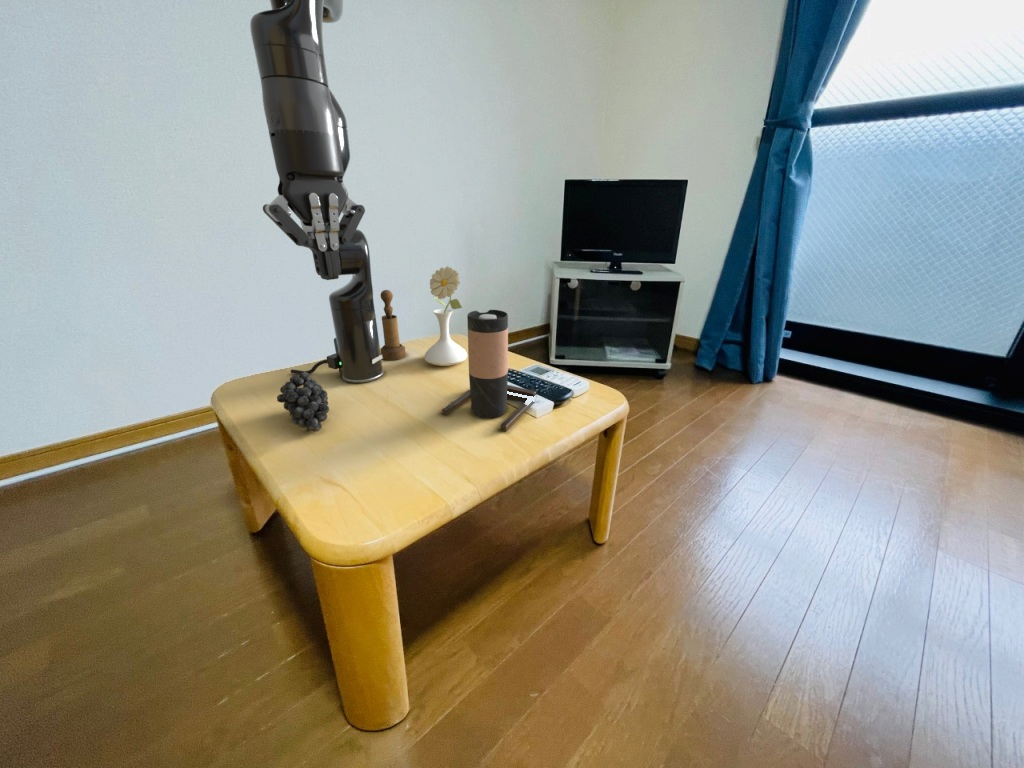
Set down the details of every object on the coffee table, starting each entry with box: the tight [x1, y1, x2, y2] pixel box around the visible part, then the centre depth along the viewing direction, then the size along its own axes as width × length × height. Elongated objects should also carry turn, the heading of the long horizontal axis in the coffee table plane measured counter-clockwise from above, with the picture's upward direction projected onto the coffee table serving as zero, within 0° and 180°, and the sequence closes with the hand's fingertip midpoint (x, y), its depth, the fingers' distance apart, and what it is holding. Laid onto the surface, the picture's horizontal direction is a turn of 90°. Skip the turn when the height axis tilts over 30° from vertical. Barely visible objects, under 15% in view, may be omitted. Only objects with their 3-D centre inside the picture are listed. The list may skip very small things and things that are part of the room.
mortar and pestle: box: [380, 289, 407, 361], centre depth 104 cm, size 7×6×18 cm
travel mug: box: [467, 309, 509, 419], centre depth 76 cm, size 8×8×20 cm
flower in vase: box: [423, 265, 468, 367], centre depth 99 cm, size 13×11×25 cm
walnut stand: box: [441, 384, 537, 433], centre depth 81 cm, size 14×14×2 cm
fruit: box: [276, 372, 330, 432], centre depth 73 cm, size 9×8×15 cm
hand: (329, 278), depth 54 cm, fingers closed
